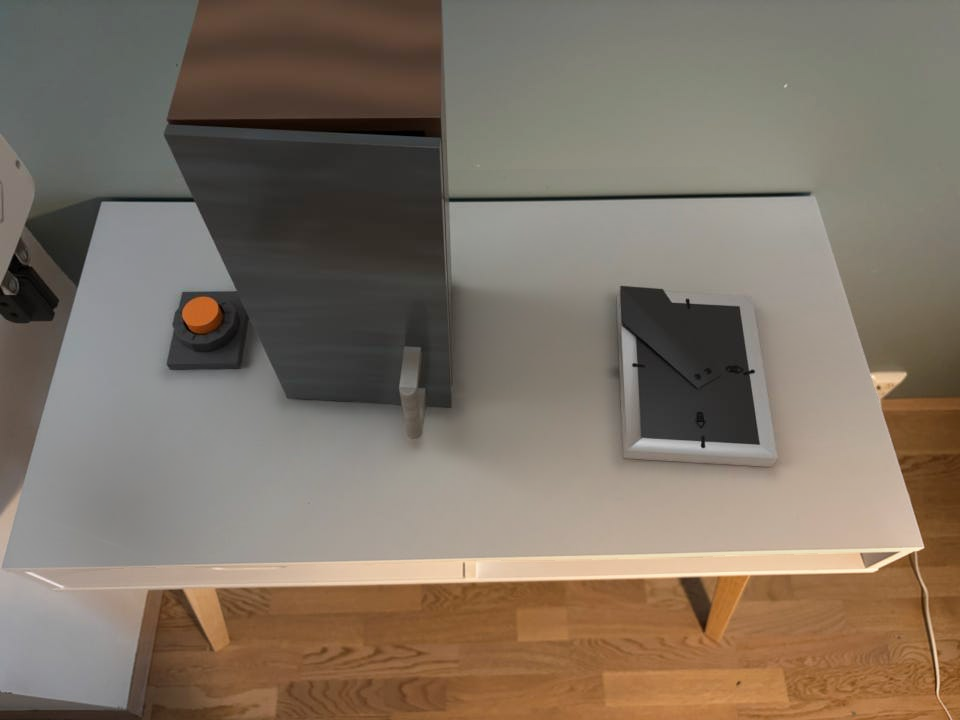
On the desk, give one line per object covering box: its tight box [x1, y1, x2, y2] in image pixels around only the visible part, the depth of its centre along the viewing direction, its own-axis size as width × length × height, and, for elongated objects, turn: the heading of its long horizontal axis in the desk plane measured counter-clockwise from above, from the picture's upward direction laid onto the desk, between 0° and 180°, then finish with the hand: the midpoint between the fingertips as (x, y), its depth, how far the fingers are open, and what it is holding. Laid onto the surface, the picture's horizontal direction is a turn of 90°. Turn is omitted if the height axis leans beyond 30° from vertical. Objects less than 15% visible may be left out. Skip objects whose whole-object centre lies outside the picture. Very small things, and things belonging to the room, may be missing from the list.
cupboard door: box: [163, 123, 453, 441], centre depth 64 cm, size 6×18×38 cm, turn 87°
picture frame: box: [616, 285, 779, 468], centre depth 82 cm, size 16×3×21 cm
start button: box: [182, 297, 223, 334], centre depth 83 cm, size 4×4×2 cm
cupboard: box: [165, 0, 454, 387], centre depth 69 cm, size 14×18×38 cm
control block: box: [166, 290, 250, 370], centre depth 85 cm, size 10×8×3 cm
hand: (34, 311), depth 50 cm, fingers closed
